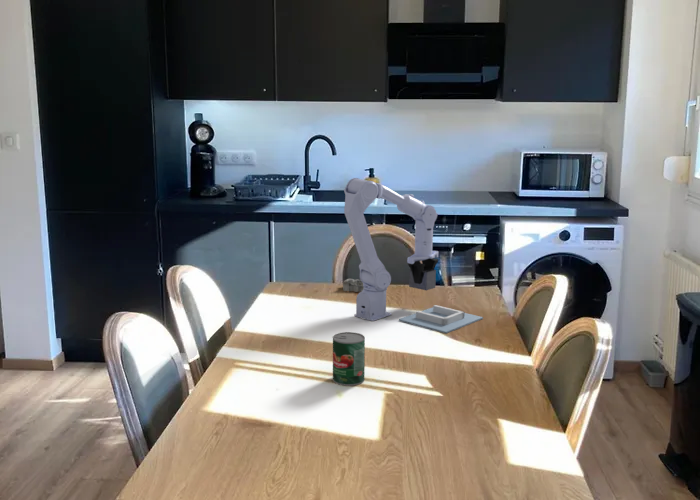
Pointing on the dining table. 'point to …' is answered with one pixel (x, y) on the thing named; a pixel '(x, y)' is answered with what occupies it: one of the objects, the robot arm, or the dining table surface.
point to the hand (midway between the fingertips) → (422, 281)
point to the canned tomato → (348, 358)
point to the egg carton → (353, 285)
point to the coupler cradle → (441, 319)
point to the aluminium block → (424, 279)
